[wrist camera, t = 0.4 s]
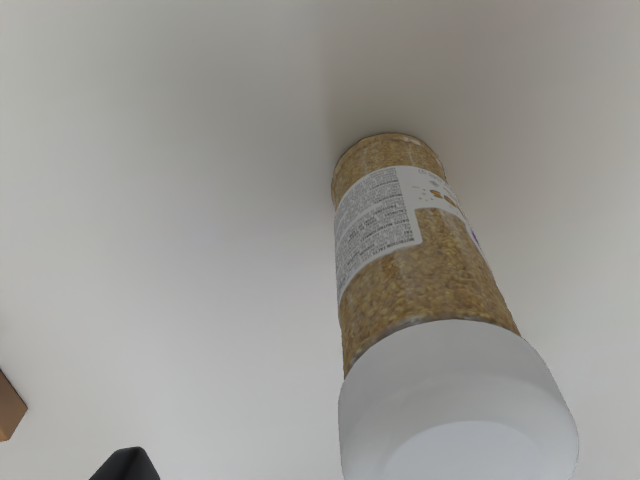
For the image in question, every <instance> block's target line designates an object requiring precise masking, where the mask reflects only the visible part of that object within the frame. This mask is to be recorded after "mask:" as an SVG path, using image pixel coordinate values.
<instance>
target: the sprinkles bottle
mask: <svg viewBox="0 0 640 480" xmlns="http://www.w3.org/2000/svg"><path fill="white" fill-rule="evenodd" d="M331 193H332V200H333V204H334V206H335V211H336V215H335V221H334V234H335V261H336V280H337V300H338V318H339V323H340V328H341V330H342V347H343V370H344V383H343V385H342V387H341V391H340V396H339V401H338V424H339V441H340V454H341V465H342V472H343V476H344V479H345V480H569V479H570V478H571V476H572V474H573V472H574V469H575V466H576V463H577V459H578V452H579V439H578V432H577V428H576V425H575V422H574V420H573V417H572V415H571V413H570V411H569V409H568V407H567V405H566V403H565V401H564V399H563V396H562V394H561V392H560V390H559V388H558V386H557V384H556V382H555V380H554V379H553V377H552V375H551V373H550V371H549V369H548V367H547V365H546V364H545V362H544V361H543V359H542V358H541V356H540V355H539V354H538V352H537V351H536V350H535V349H534V348H533V347H532V346H531V345H530V344H529V343H528V342H527V341H526V340H524V339H523V338H522V337H521V335H520V333H519V331H518V328H517V326H516V324H515V322H514V321H513V318H512V315H511V313H510V311H509V310H508V308H507V306H506V303H505V301H504V298H503V296H502V295H501V293H500V291H499V289H498V287H497V285H496V282H495V280H494V277H493V274H492V271H491V269H490V267H489V264H488V262H487V260H486V258H485V256H484V254H483V252H482V250H481V248H480V245H479V243H478V241H477V239H476V237H475V235H474V233H473V231H472V228H471V227H470V225H469V223H468V221H467V219H466V217H465V215H464V213H463V210H462V208H461V206H460V204H459V202H458V200H457V198H456V196H455V194H454V192H453V191H452V189H451V188H450V187H449V185H448V183H447V181H446V177H445V173H444V169H443V167H442V163H441V162H440V160H439V159H438V157H437V155H436V154H435V153H434V152H433V151H432V149H431V148H429V147H428V146H427V145H426V144H424V143H423V142H421V141H420V140H418V139H416V138H415V137H411V136H407V135H404V134H399V133H394V134H387V133H386V134H380V135H374V136H371V137H367V138H364V139H362V140H361V141H359V142H358V143H357V144H356V145H354V146H353V147H351V148H350V149H349V150H348V151H347V152H346V153H345V154H344V155H343V156H342V157H341V159H340V160H339V162H338V164H337V166H336V167H335V169H334V173H333V178H332V183H331Z"/></svg>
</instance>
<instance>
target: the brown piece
mask: <svg viewBox="0 0 640 480" xmlns="http://www.w3.org/2000/svg"><path fill="white" fill-rule="evenodd" d="M26 411H27V407H26V406H25V404H24V403H23V402H22V400H21V399H20V397H19V396H18V395H17V393H16V392H15V390H14V389H13V388H12V386H11V385H10V383H9V382H8V381H7V379H6V378H5V376H4V375H3V374H2V372H1V371H0V442H2V441H7V440H9V439H10V438H11V436H12V434H13V433H14V431H15V429H16V428H17V426H18V424H19V423H20V421H21V419H22V418H23V416H24V414H25V413H26Z"/></svg>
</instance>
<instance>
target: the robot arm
mask: <svg viewBox="0 0 640 480" xmlns="http://www.w3.org/2000/svg"><path fill="white" fill-rule="evenodd" d="M89 480H160V477H159V475H158V473H157V471H156V470H155V468H154V466H153V464H152V462H151V461H150V459H149V457H148V455H147V453H146V452H145V450H144V449H143V448H141V447H138V446H137V447H131V448H124V449H119V450H117V451H115V452H114V453H113V454H112V455H111V456H110V457H109V458H108V459H107V460H106V462H105V463H104V464H103V465H102V466H101V467H100V468H99V469H98V470H97V471H96V473H95V474H94V475H93V476H92V477H91V478H90V479H89Z"/></svg>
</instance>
